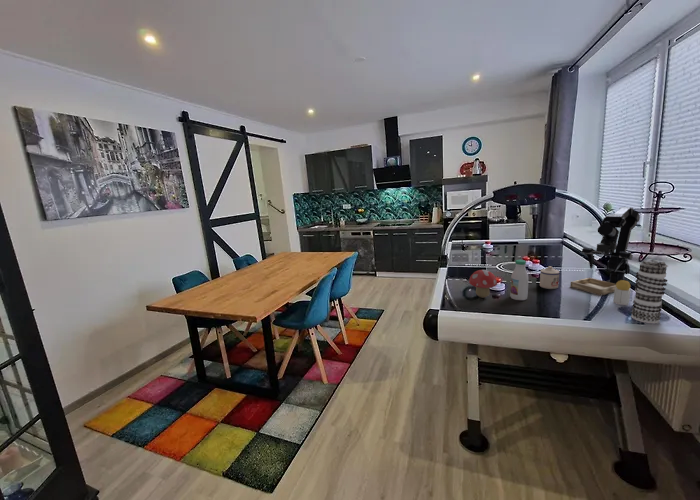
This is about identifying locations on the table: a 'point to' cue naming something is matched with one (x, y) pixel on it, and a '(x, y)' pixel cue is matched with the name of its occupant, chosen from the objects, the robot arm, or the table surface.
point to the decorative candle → (649, 291)
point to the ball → (623, 285)
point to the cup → (621, 296)
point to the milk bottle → (519, 281)
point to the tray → (594, 286)
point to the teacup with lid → (549, 278)
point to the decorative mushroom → (483, 282)
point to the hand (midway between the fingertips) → (602, 270)
